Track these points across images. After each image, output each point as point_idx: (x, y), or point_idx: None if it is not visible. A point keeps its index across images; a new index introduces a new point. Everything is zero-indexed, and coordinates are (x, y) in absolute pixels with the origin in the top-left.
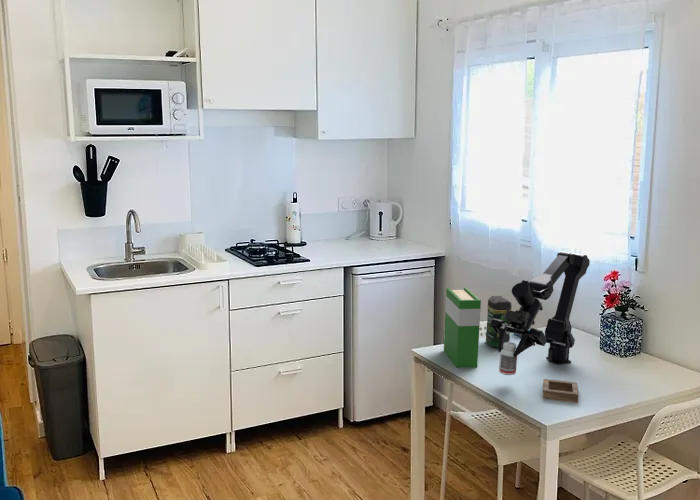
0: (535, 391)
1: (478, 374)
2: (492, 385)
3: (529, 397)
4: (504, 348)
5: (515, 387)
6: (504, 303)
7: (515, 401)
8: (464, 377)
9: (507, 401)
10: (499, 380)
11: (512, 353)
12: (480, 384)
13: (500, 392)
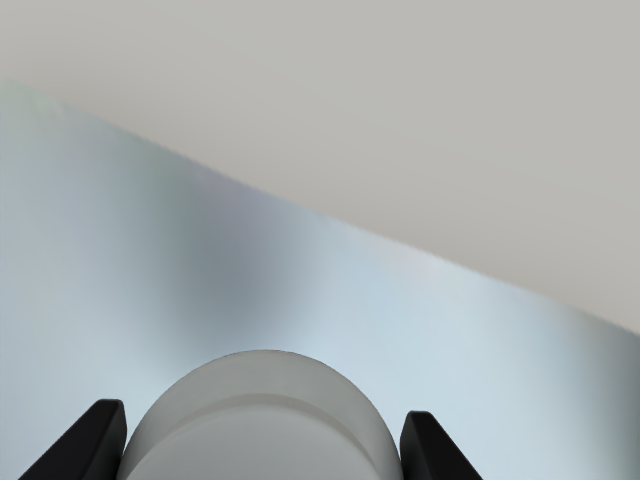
0: (11, 461)
1: (547, 450)
2: (341, 321)
3: (3, 306)
4: (308, 405)
5: None
6: None
7: (61, 167)
8: (574, 312)
9: (108, 130)
10: None
11: (149, 427)
12: (415, 275)
13: (226, 241)
